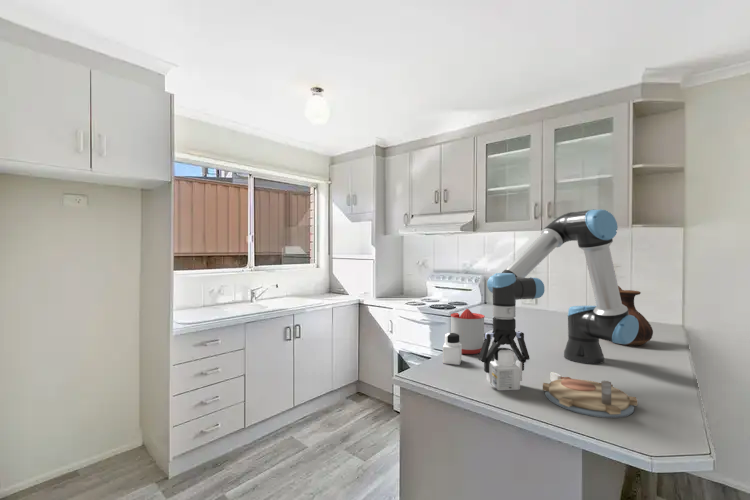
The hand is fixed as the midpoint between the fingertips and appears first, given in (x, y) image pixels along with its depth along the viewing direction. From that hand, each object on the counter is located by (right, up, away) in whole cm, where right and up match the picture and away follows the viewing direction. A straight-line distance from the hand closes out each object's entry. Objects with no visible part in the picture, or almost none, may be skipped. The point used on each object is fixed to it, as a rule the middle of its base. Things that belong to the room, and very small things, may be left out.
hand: (504, 380), depth 125 cm
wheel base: (+22, -2, -9) cm, 24 cm away
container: (0, -2, 0) cm, 2 cm away
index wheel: (+22, -1, -12) cm, 25 cm away
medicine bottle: (-12, -2, +28) cm, 30 cm away
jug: (+83, -2, +58) cm, 102 cm away
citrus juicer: (-2, -2, +44) cm, 44 cm away
